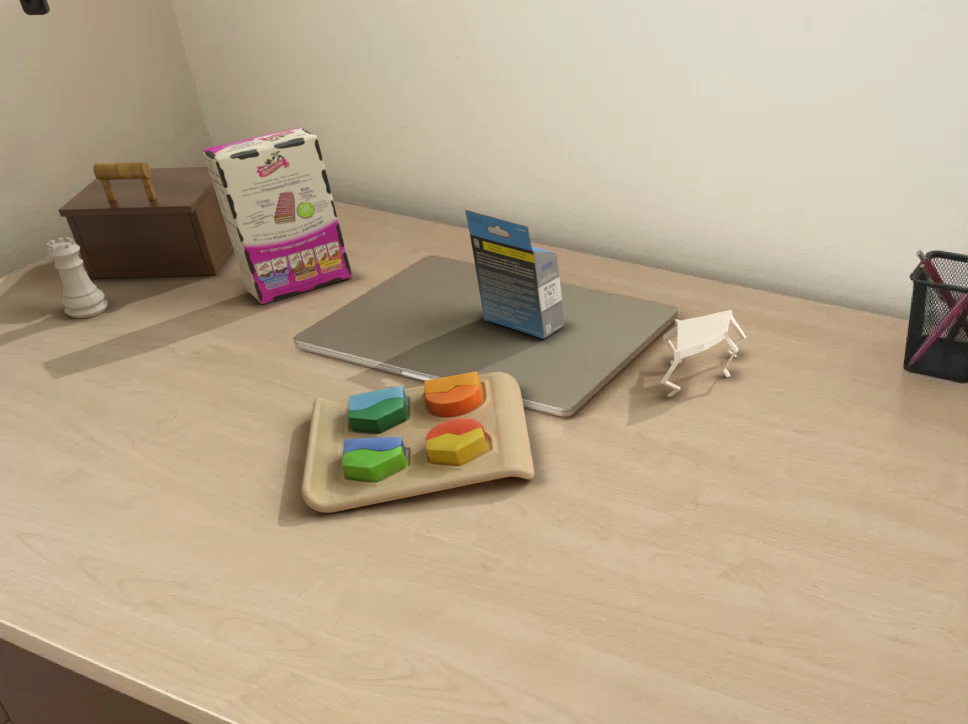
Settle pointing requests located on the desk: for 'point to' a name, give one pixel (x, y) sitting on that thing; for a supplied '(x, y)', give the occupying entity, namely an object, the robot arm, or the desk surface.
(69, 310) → the rook chess piece
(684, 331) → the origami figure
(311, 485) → the puzzle board
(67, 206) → the compartment lid
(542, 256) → the tape cartridge
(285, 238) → the candy bar box
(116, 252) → the compartment
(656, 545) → the desk surface
